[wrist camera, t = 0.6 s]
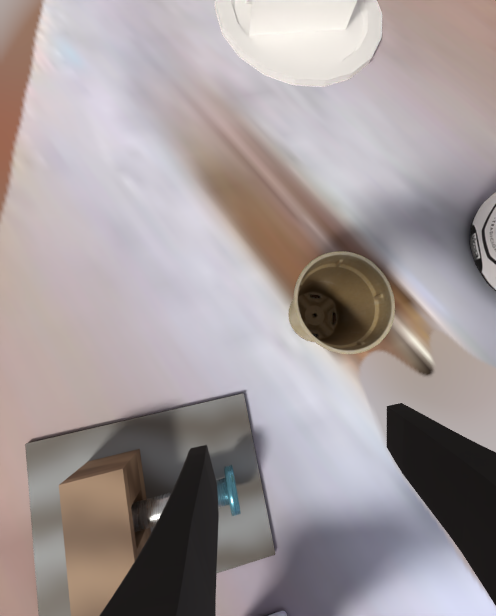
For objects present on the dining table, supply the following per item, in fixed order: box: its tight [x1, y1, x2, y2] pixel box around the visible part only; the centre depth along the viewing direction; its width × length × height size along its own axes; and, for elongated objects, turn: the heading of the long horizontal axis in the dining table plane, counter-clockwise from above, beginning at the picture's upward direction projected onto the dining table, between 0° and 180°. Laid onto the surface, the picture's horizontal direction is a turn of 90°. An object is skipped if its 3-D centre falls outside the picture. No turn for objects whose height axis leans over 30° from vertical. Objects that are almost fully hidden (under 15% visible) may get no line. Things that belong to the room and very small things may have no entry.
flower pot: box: [289, 251, 395, 354], centre depth 29 cm, size 9×9×9 cm
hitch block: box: [25, 393, 275, 616], centre depth 25 cm, size 16×22×6 cm
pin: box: [131, 465, 241, 532], centre depth 26 cm, size 4×12×4 cm, turn 102°
